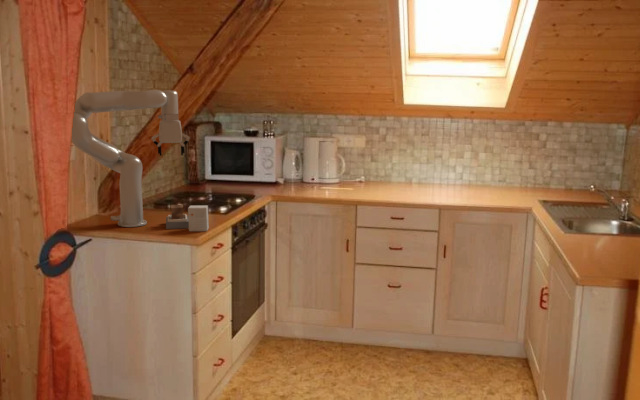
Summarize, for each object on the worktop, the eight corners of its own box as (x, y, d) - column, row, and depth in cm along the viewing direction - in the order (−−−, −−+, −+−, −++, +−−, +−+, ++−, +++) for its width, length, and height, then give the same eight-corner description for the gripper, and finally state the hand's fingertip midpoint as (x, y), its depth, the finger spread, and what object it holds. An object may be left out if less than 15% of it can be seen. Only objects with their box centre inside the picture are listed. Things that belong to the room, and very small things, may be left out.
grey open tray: (166, 229, 269) (165, 220, 268) (166, 223, 280) (166, 214, 280) (189, 228, 271) (189, 219, 270) (188, 222, 283) (188, 213, 282)
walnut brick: (171, 221, 271) (171, 207, 270) (171, 217, 278) (171, 204, 276) (183, 220, 272) (182, 207, 271) (182, 217, 279) (182, 204, 278)
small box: (208, 228, 271) (208, 205, 269) (207, 231, 266) (206, 207, 264) (190, 228, 271) (190, 205, 269) (188, 231, 265) (187, 207, 263)
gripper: (150, 118, 274) (151, 156, 278) (189, 118, 278) (190, 155, 281) (150, 117, 282) (152, 154, 285) (189, 117, 285) (190, 154, 289)
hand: (171, 155), depth 283 cm, fingers open, 9 cm apart
